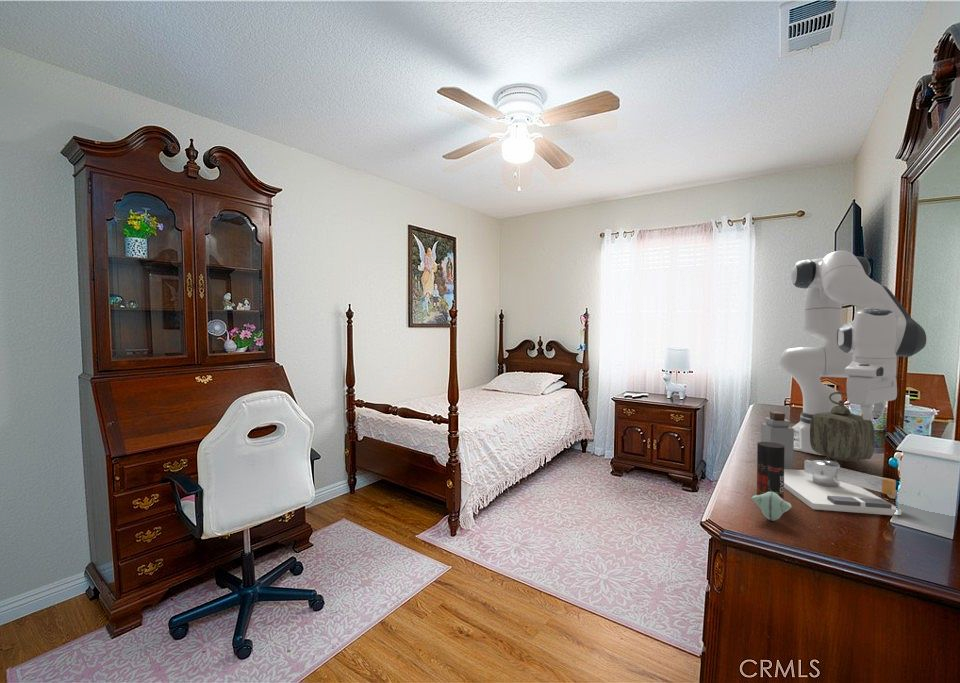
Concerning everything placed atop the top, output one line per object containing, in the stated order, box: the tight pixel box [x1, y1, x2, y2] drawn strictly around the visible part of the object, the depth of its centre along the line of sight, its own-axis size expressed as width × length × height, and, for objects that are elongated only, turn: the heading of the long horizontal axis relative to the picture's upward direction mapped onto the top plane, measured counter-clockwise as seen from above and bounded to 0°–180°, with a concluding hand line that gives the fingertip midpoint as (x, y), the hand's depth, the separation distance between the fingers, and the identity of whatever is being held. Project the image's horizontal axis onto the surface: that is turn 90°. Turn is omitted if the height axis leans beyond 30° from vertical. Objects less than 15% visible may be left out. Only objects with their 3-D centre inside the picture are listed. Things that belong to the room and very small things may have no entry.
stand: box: [784, 469, 897, 516], centre depth 118 cm, size 28×19×3 cm
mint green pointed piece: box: [751, 492, 792, 522], centre depth 100 cm, size 8×4×7 cm, turn 47°
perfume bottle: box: [760, 411, 795, 470], centre depth 139 cm, size 7×7×18 cm
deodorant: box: [756, 441, 785, 501], centre depth 111 cm, size 6×6×15 cm
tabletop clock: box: [810, 391, 876, 473], centre depth 137 cm, size 14×9×25 cm, turn 17°
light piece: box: [803, 459, 897, 496], centre depth 115 cm, size 20×6×6 cm, turn 27°
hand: (872, 418), depth 114 cm, fingers open, 4 cm apart
